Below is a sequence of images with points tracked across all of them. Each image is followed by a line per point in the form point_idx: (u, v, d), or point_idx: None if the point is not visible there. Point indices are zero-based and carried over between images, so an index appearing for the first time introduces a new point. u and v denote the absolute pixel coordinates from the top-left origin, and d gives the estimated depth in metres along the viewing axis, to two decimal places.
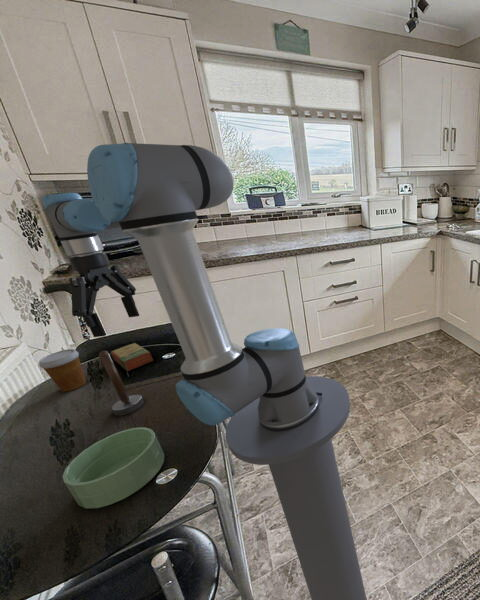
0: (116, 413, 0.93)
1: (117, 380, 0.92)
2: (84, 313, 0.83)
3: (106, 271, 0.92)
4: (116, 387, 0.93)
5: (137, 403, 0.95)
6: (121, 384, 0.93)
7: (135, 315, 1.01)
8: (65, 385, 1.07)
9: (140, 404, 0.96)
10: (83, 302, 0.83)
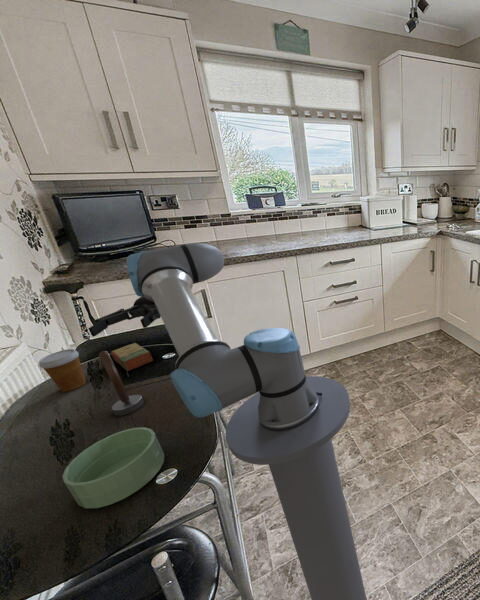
0: (116, 413, 0.93)
1: (117, 380, 0.92)
2: (95, 320, 1.02)
3: (149, 305, 1.12)
4: (116, 387, 0.93)
5: (137, 403, 0.95)
6: (121, 384, 0.93)
7: None
8: (65, 385, 1.07)
9: (140, 404, 0.96)
10: (104, 316, 1.05)
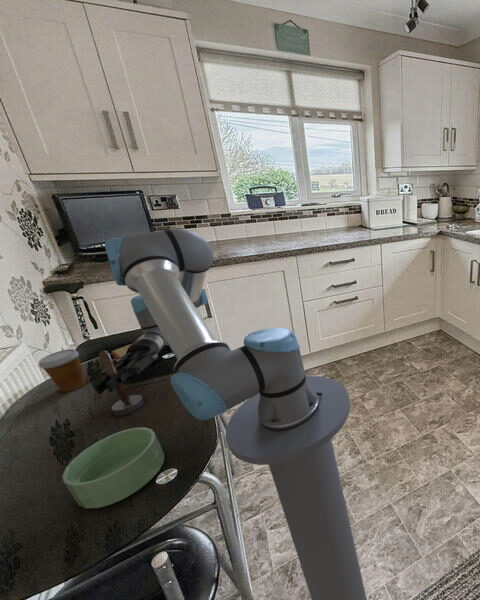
0: (116, 413, 0.93)
1: None
2: (101, 372, 0.93)
3: (145, 351, 1.04)
4: None
5: (137, 403, 0.95)
6: (121, 384, 0.93)
7: None
8: (65, 385, 1.07)
9: (140, 404, 0.96)
10: None
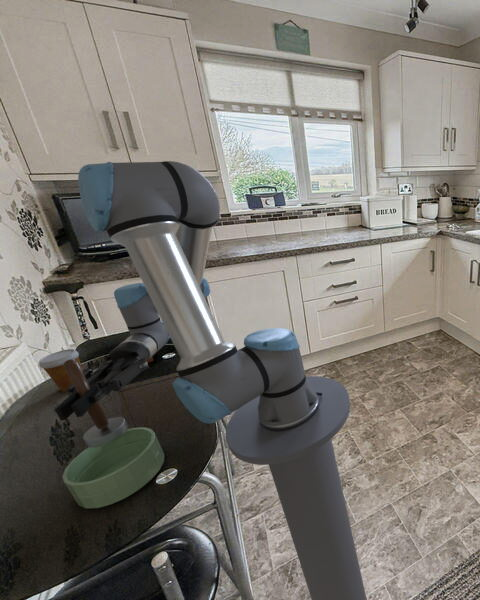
0: (89, 444, 0.68)
1: None
2: (68, 389, 0.68)
3: (131, 358, 0.79)
4: (89, 409, 0.67)
5: (118, 430, 0.70)
6: (96, 404, 0.68)
7: None
8: (65, 385, 1.07)
9: (123, 431, 0.71)
10: None
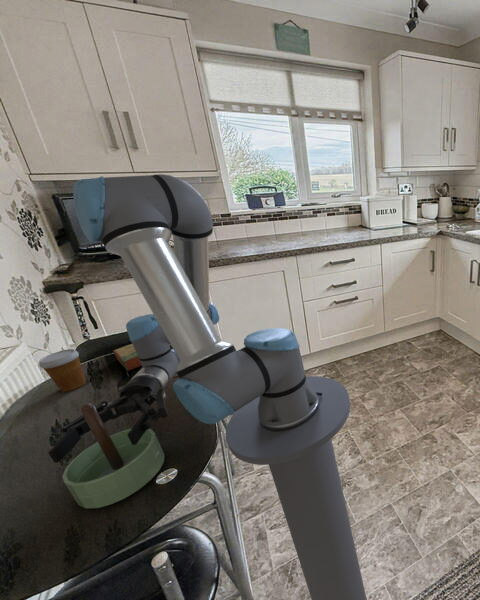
0: None
1: (106, 441, 0.68)
2: (62, 428, 0.70)
3: (143, 394, 0.79)
4: (105, 451, 0.68)
5: None
6: (112, 446, 0.69)
7: None
8: (65, 385, 1.07)
9: None
10: (76, 419, 0.72)
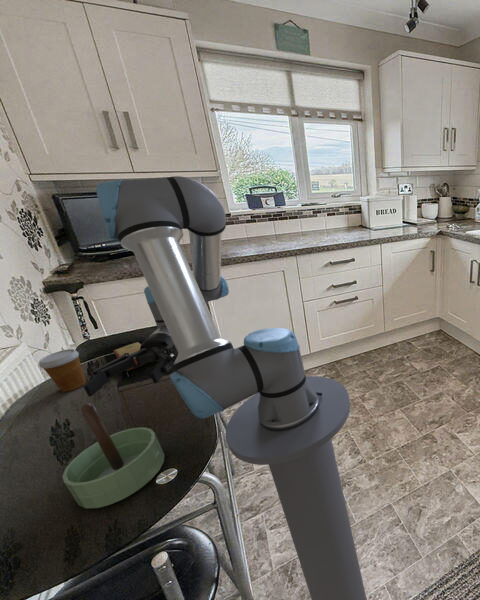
0: None
1: (106, 441, 0.68)
2: (92, 371, 0.81)
3: (160, 348, 0.90)
4: (105, 451, 0.68)
5: None
6: (112, 446, 0.69)
7: None
8: (65, 385, 1.07)
9: None
10: (104, 365, 0.83)
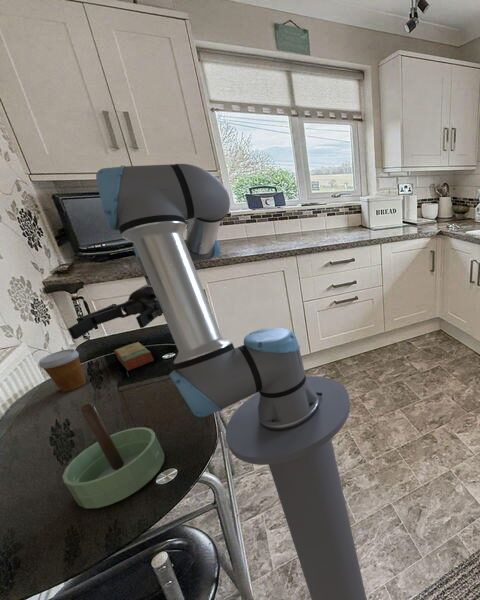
0: None
1: (106, 441, 0.68)
2: (78, 318, 0.79)
3: (148, 299, 0.89)
4: (105, 451, 0.68)
5: None
6: (112, 446, 0.69)
7: None
8: (65, 385, 1.07)
9: None
10: (90, 313, 0.82)
